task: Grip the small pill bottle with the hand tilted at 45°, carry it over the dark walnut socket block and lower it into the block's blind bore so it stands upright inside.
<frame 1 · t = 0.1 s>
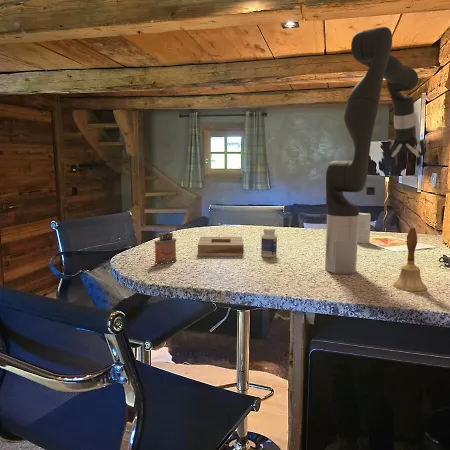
hand: (406, 165, 169), 31 cm above the breakfast bar, tool tilted 20°, fingers open, 8 cm apart
skincare box: (360, 242, 175), on the breakfast bar
hand bell: (409, 287, 114), on the breakfast bar
lighter: (165, 262, 141), on the breakfast bar
pill bottle: (268, 256, 151), on the breakfast bar
socket block: (221, 251, 158), on the breakfast bar
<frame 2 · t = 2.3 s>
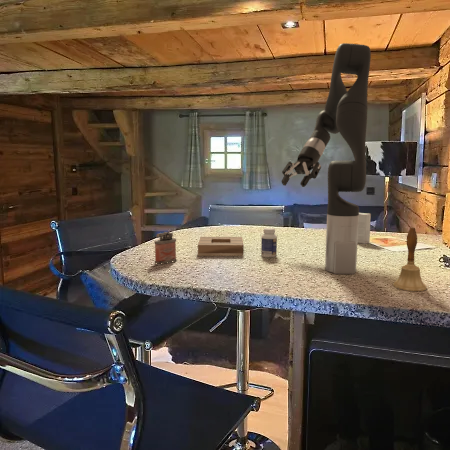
hand: (292, 184, 156), 24 cm above the breakfast bar, tool tilted 45°, fingers open, 8 cm apart
nothing on the breakfast bar moved.
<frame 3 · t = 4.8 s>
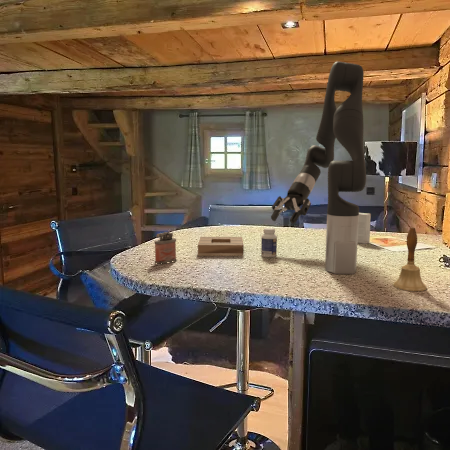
hand: (282, 221, 154), 12 cm above the breakfast bar, tool tilted 45°, fingers open, 8 cm apart
nothing on the breakfast bar moved.
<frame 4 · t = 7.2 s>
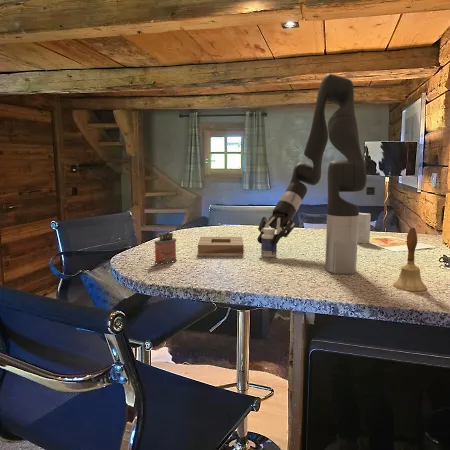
hand: (265, 243, 149), 5 cm above the breakfast bar, tool tilted 45°, fingers closed on pill bottle, 5 cm apart
pill bottle: (268, 256, 151), on the breakfast bar, touching gripper
everything else where it was.
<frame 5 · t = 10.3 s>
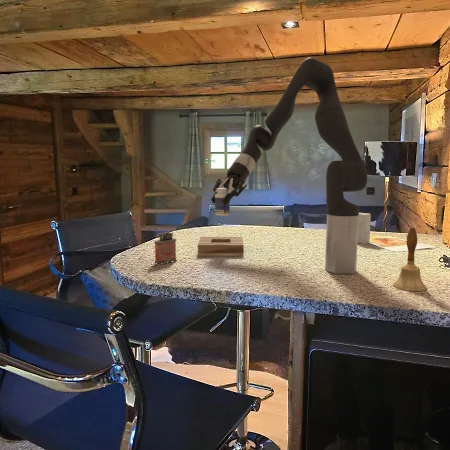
hand: (218, 202, 154), 18 cm above the breakfast bar, tool tilted 45°, fingers closed on pill bottle, 5 cm apart
pill bottle: (222, 215, 156), point 13 cm above the breakfast bar, touching gripper
everything else where it was.
when the fingers open (7 cm above the breakfast bar, at t = 13.5 s): pill bottle drops 1 cm, resting on socket block.
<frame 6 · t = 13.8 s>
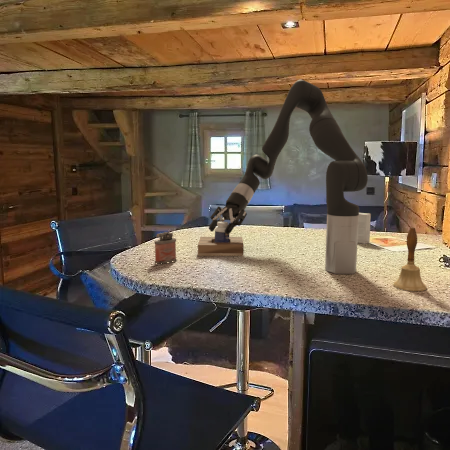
hand: (218, 231, 156), 8 cm above the breakfast bar, tool tilted 45°, fingers open, 8 cm apart
pill bottle: (221, 248, 158), point 1 cm above the breakfast bar, touching socket block
everything else where it was.
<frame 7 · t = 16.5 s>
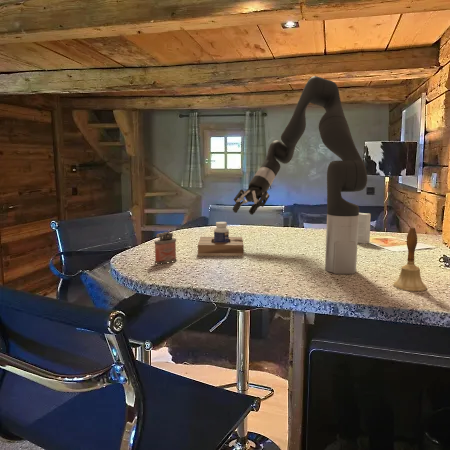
hand: (242, 212, 164), 14 cm above the breakfast bar, tool tilted 45°, fingers open, 8 cm apart
nothing on the breakfast bar moved.
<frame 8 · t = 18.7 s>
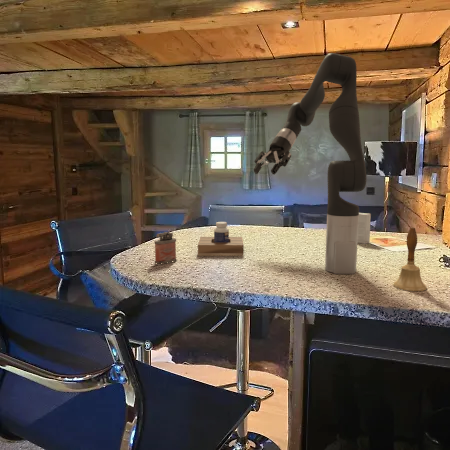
hand: (263, 172, 161), 29 cm above the breakfast bar, tool tilted 45°, fingers open, 8 cm apart
nothing on the breakfast bar moved.
at the end: pill bottle 0.3 cm off-centre on the socket block, point 0.8 cm above the socket block's base; pill bottle tilted 0°; the gripper is holding nothing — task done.
